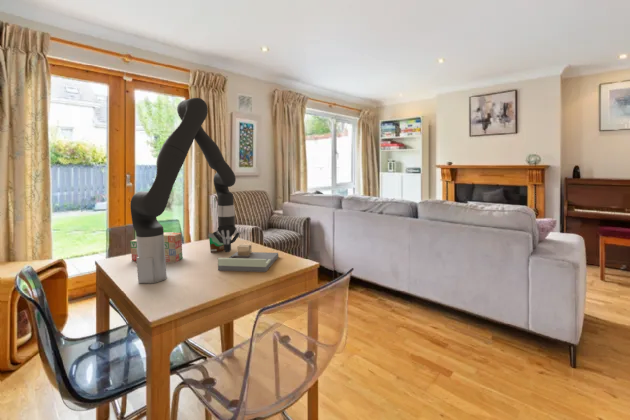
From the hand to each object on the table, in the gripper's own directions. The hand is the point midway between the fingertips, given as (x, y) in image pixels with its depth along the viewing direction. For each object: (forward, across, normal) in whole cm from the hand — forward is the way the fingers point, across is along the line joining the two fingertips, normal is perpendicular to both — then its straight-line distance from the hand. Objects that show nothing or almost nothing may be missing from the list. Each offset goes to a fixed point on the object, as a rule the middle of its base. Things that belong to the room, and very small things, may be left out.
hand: (227, 251), depth 153 cm
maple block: (+1, +8, 0) cm, 8 cm away
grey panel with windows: (+3, +13, -8) cm, 15 cm away
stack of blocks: (+3, -31, -6) cm, 32 cm away
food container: (+3, -9, +12) cm, 16 cm away
